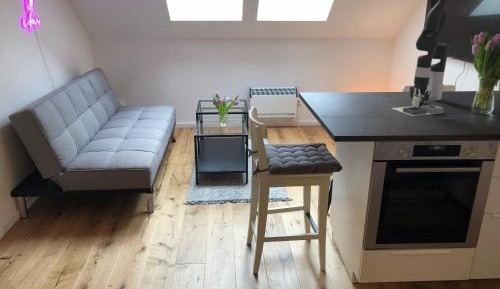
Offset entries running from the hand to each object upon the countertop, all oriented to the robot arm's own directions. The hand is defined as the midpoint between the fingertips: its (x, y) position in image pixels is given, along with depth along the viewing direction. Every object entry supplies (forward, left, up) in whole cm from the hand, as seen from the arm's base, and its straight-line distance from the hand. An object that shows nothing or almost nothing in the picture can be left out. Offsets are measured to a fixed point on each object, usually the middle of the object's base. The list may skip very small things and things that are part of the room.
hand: (417, 107), depth 222 cm
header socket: (+9, +8, 0) cm, 12 cm away
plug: (0, 0, 0) cm, 0 cm away
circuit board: (+5, +5, -1) cm, 7 cm away
